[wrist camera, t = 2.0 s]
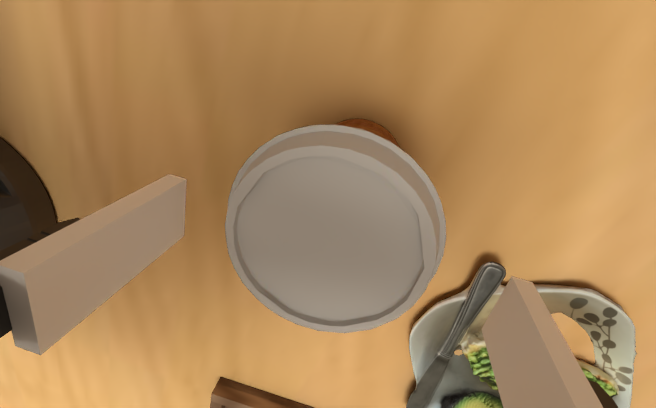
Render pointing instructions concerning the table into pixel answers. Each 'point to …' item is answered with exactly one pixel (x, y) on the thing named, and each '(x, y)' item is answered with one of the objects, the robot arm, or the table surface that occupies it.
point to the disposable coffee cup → (335, 226)
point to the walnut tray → (247, 397)
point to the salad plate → (474, 364)
